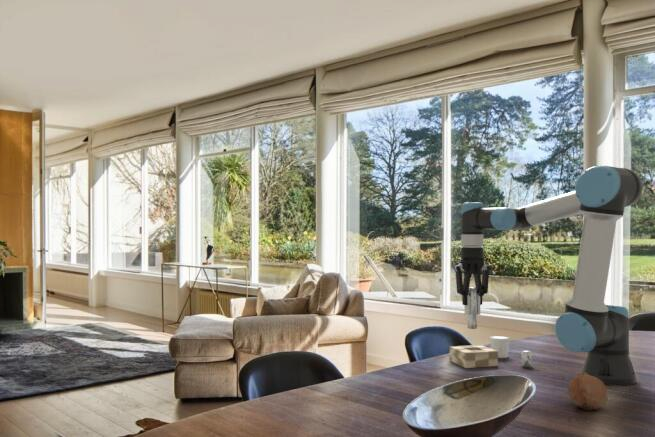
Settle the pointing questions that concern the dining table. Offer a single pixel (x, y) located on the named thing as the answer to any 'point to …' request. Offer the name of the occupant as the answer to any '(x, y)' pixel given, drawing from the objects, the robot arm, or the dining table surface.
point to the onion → (587, 391)
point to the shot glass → (500, 345)
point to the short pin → (526, 358)
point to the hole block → (473, 356)
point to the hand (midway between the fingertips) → (472, 314)
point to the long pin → (472, 308)
